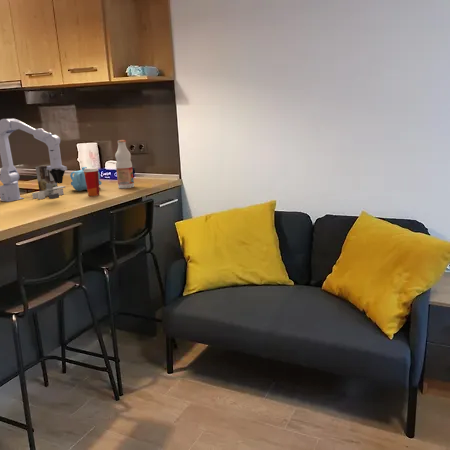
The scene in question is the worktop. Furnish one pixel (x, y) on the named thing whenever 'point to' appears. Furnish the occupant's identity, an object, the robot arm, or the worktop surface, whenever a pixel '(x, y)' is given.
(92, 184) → the coffee cup
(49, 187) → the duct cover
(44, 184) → the coffee box
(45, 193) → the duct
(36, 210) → the worktop surface
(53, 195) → the gray block
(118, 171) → the fruit juice
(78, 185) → the decorative pot
